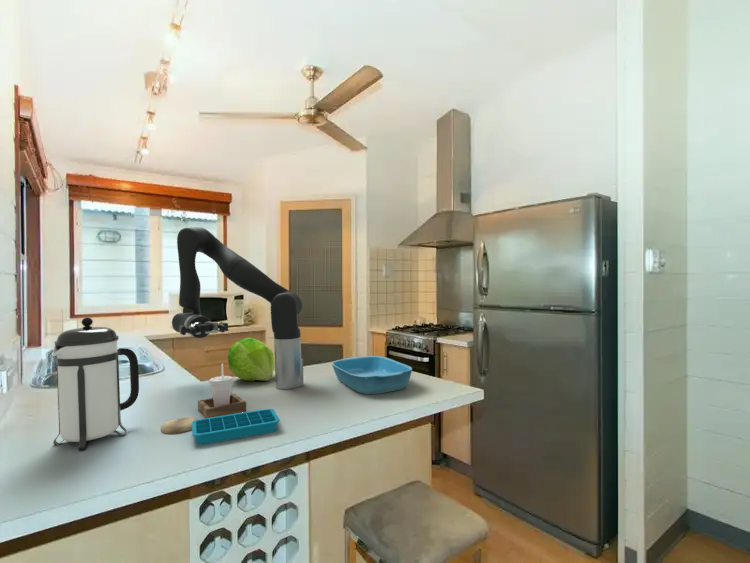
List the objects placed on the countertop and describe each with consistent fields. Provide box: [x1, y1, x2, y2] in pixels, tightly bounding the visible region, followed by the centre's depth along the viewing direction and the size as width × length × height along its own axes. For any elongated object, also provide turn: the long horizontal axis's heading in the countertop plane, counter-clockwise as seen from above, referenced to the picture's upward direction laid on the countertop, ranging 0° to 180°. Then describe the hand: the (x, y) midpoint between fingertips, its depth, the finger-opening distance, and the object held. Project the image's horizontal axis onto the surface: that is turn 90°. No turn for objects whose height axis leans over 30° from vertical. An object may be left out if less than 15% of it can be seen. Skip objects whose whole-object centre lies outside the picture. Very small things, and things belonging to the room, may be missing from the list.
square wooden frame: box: [197, 393, 248, 419], centre depth 119 cm, size 11×11×3 cm
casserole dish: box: [331, 355, 413, 395], centre depth 146 cm, size 37×22×7 cm, turn 24°
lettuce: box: [227, 337, 275, 382], centre depth 156 cm, size 17×20×16 cm
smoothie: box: [208, 363, 233, 407], centre depth 119 cm, size 6×6×14 cm
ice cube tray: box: [191, 408, 281, 446], centre depth 103 cm, size 12×20×3 cm, turn 114°
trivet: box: [160, 417, 198, 435], centre depth 107 cm, size 9×9×1 cm
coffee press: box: [51, 317, 140, 452], centre depth 101 cm, size 17×16×30 cm
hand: (209, 330), depth 128 cm, fingers open, 8 cm apart
